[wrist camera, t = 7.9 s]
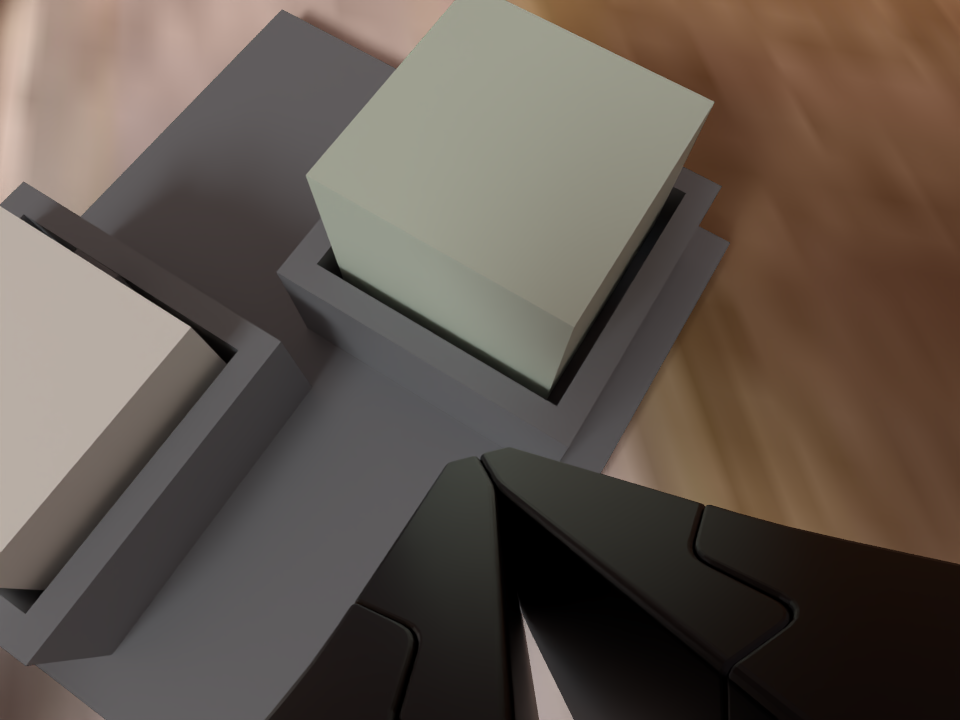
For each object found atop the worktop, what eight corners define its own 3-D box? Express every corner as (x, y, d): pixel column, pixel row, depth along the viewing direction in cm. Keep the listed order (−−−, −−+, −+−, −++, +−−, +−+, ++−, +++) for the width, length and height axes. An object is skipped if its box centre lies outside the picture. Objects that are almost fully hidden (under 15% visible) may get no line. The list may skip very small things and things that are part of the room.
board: (720, 256, 25) (778, 175, 21) (359, 897, 18) (323, 996, 14) (287, 29, 29) (253, -86, 24) (-159, 497, 22) (-332, 465, 17)
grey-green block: (657, 219, 22) (718, 96, 16) (544, 402, 19) (574, 327, 14) (466, 118, 23) (467, -25, 18) (340, 280, 21) (298, 171, 15)
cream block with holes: (260, 389, 22) (196, 320, 16) (102, 593, 19) (-29, 586, 14) (89, 280, 23) (-20, 184, 18) (-77, 460, 21) (-258, 410, 15)
